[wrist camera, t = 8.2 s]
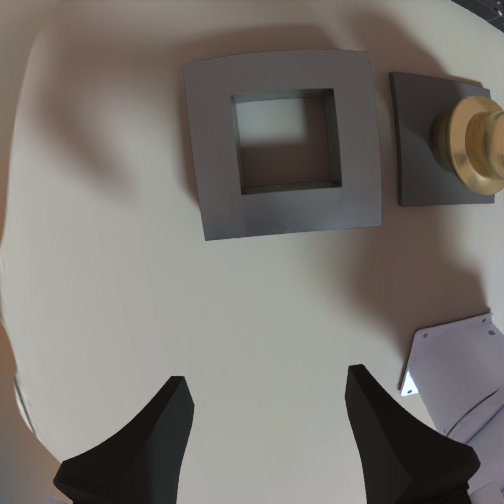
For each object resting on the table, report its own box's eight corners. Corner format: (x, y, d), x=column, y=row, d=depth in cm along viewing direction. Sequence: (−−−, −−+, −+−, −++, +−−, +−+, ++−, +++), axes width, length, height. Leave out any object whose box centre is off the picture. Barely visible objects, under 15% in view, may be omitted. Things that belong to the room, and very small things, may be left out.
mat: (484, 90, 15) (489, 89, 14) (489, 201, 18) (494, 203, 17) (388, 73, 15) (392, 71, 15) (398, 204, 18) (402, 206, 18)
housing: (353, 64, 15) (367, 51, 12) (365, 213, 19) (381, 225, 16) (195, 75, 16) (182, 63, 13) (213, 226, 19) (205, 240, 17)
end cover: (480, 108, 15) (552, 106, 8) (481, 186, 17) (551, 211, 10) (416, 94, 15) (487, 78, 8) (419, 182, 17) (490, 207, 10)
